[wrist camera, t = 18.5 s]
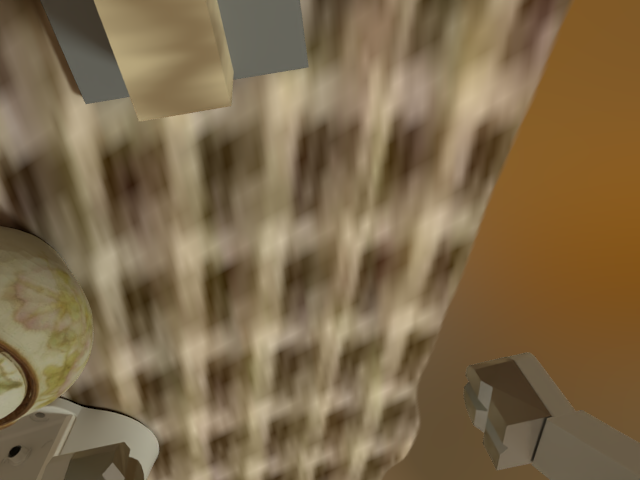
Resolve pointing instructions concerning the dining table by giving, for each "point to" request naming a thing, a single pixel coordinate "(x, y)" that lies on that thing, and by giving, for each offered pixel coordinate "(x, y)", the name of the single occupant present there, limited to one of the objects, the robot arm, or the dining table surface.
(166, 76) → the pine block
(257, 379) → the dining table surface
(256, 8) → the grey mat
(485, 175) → the dining table surface
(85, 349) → the sugar bowl
